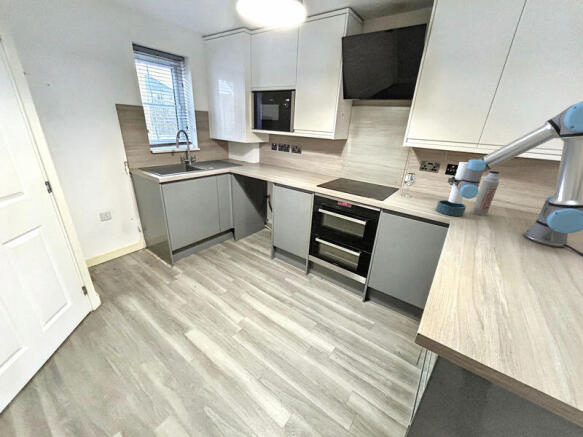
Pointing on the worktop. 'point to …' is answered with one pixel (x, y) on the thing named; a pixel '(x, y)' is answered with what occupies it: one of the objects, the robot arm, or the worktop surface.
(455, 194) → the cylindrical container
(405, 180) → the wineglass
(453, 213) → the bowl
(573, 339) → the worktop surface
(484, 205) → the thermos bottle
